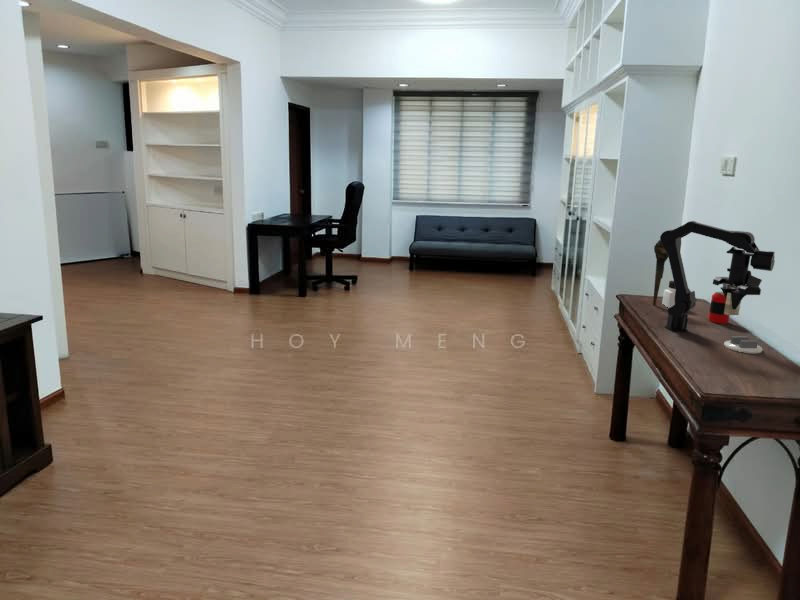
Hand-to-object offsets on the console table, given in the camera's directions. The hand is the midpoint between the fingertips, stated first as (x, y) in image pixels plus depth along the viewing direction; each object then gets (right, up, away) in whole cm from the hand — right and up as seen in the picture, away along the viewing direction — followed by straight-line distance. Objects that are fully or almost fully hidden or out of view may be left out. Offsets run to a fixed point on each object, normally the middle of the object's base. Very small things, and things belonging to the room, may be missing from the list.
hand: (732, 308), depth 221 cm
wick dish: (0, -14, -6) cm, 15 cm away
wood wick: (0, -2, +1) cm, 2 cm away
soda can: (+10, -6, +29) cm, 32 cm away
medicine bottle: (+1, 0, +52) cm, 52 cm away
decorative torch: (-7, +1, +53) cm, 53 cm away
